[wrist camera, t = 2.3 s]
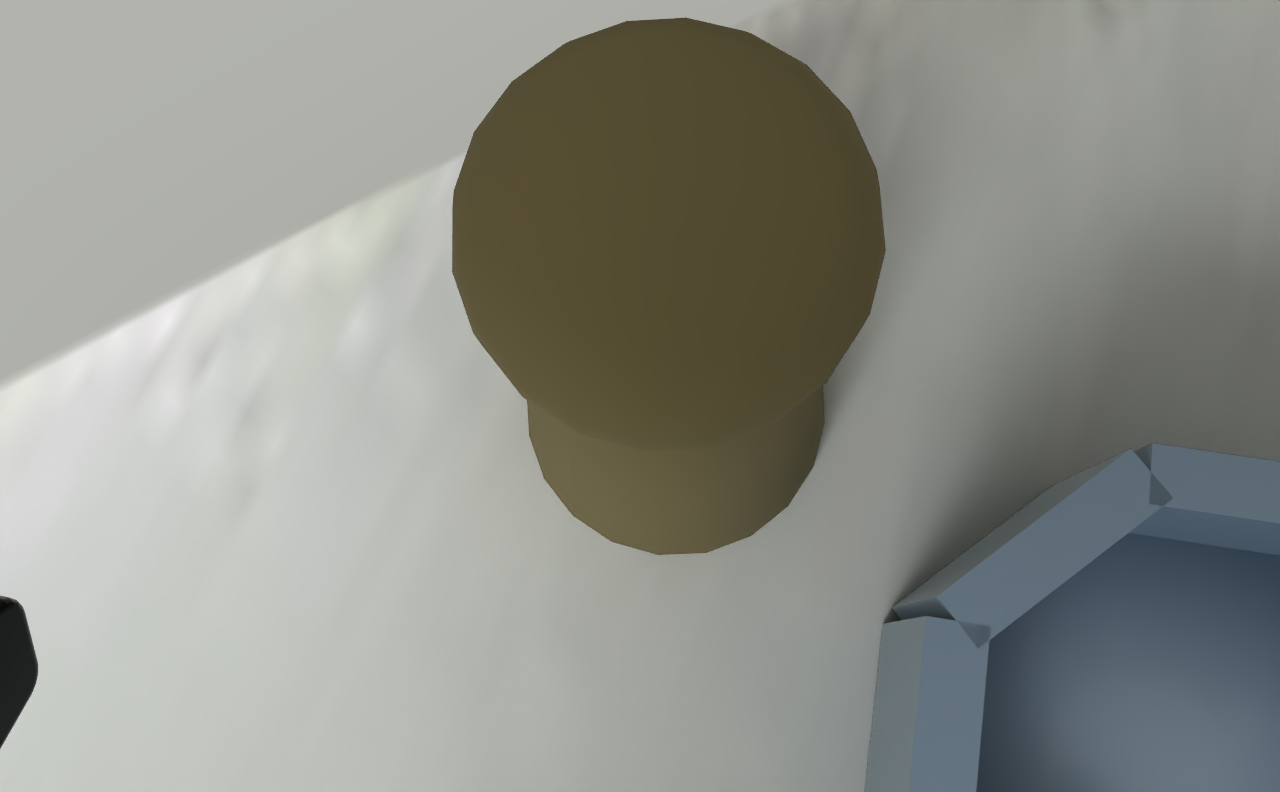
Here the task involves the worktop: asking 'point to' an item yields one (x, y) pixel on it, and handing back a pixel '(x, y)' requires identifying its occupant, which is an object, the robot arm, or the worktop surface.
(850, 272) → the cork
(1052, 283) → the worktop surface
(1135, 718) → the bowl
